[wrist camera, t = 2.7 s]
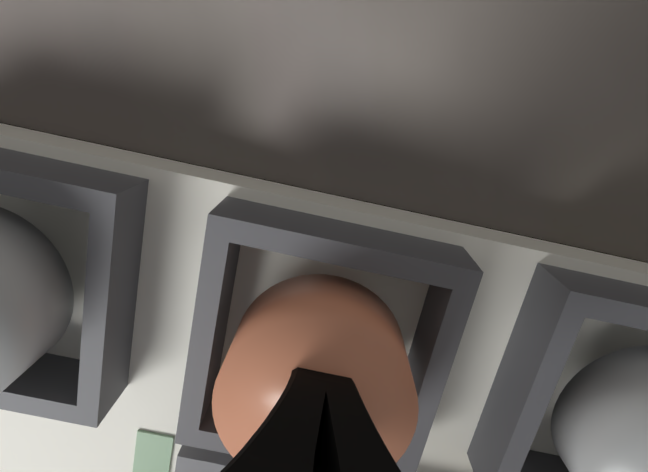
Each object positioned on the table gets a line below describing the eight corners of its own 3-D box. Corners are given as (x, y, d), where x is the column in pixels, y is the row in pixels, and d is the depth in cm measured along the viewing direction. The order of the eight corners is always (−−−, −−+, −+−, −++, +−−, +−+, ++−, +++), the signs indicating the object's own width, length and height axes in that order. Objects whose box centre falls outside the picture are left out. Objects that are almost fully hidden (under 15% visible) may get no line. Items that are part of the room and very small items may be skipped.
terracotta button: (380, 436, 14) (389, 510, 11) (223, 405, 13) (199, 473, 11) (423, 294, 12) (444, 343, 10) (250, 257, 12) (228, 298, 10)
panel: (635, 596, 19) (698, 703, 16) (-167, 442, 18) (-282, 523, 15) (804, 297, 15) (937, 355, 12) (-210, 77, 14) (-382, 73, 11)
